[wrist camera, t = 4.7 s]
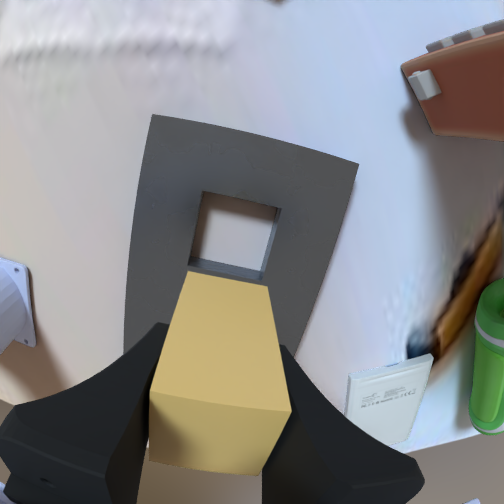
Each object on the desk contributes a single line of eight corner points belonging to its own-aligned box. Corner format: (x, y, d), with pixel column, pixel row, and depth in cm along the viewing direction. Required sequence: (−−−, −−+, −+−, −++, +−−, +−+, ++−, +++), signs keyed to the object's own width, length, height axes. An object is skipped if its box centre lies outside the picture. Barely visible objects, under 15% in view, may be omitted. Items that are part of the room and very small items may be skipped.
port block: (128, 404, 25) (124, 416, 23) (158, 115, 17) (151, 114, 16) (256, 428, 26) (257, 441, 25) (350, 162, 19) (359, 164, 17)
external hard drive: (337, 447, 29) (346, 369, 25) (404, 429, 29) (427, 349, 25) (340, 458, 28) (351, 381, 23) (409, 439, 28) (435, 360, 23)
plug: (178, 335, 14) (149, 460, 8) (188, 270, 13) (150, 390, 7) (249, 348, 15) (258, 475, 8) (267, 286, 14) (291, 411, 7)
